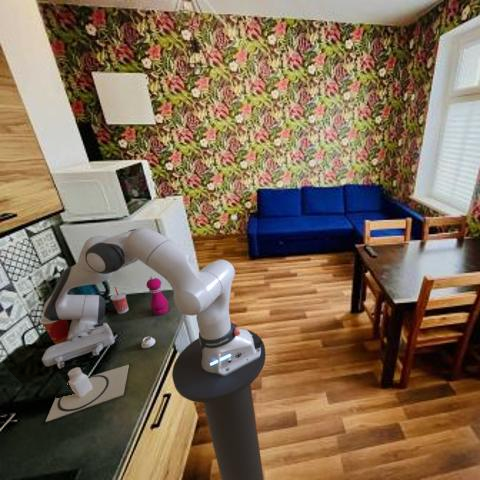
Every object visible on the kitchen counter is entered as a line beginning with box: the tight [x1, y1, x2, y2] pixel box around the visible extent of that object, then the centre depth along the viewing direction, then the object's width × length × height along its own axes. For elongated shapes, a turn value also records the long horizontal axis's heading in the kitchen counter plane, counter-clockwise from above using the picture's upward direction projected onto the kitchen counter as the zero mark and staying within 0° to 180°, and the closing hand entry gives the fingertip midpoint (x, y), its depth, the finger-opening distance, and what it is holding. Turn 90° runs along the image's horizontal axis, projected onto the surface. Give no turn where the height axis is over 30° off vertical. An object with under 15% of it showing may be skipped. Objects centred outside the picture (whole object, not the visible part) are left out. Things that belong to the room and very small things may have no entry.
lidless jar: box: [141, 336, 156, 349], centre depth 111 cm, size 5×3×5 cm
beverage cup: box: [109, 286, 130, 315], centre depth 130 cm, size 6×6×14 cm
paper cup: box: [40, 315, 70, 345], centre depth 110 cm, size 8×8×14 cm
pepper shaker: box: [67, 367, 92, 397], centre depth 89 cm, size 4×4×10 cm
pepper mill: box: [146, 275, 169, 316], centre depth 129 cm, size 7×7×20 cm
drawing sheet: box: [45, 364, 130, 423], centre depth 92 cm, size 20×14×1 cm
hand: (78, 360), depth 94 cm, fingers open, 8 cm apart
